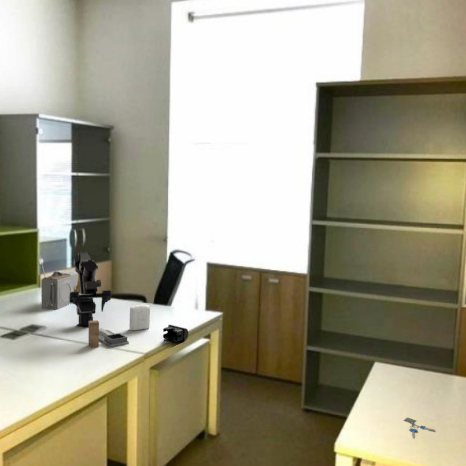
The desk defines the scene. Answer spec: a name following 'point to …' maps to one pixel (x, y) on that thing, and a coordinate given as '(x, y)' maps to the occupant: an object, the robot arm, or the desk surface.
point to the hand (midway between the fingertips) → (92, 312)
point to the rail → (112, 338)
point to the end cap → (175, 334)
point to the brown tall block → (93, 333)
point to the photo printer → (139, 317)
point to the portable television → (58, 289)
